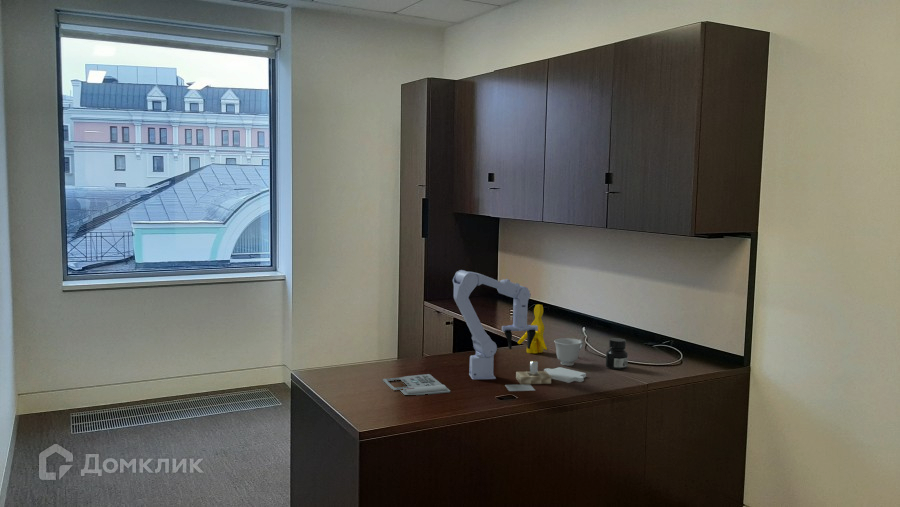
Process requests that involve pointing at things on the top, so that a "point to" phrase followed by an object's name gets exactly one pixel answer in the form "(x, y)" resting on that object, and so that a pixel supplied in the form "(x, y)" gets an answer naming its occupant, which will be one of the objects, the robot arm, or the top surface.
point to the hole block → (533, 378)
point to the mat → (520, 387)
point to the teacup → (568, 350)
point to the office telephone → (419, 385)
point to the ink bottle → (617, 354)
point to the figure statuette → (538, 339)
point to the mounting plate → (565, 374)
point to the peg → (533, 368)
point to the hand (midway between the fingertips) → (519, 348)
